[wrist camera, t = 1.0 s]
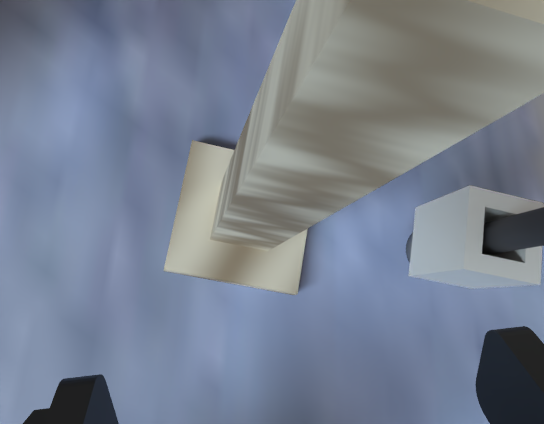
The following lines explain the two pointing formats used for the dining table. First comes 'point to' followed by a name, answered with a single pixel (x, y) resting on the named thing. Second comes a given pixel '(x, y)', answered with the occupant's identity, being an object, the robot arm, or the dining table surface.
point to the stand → (348, 123)
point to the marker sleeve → (470, 241)
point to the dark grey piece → (509, 233)
